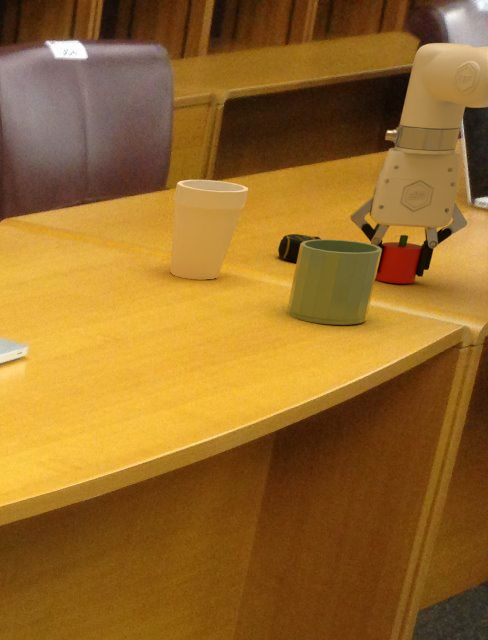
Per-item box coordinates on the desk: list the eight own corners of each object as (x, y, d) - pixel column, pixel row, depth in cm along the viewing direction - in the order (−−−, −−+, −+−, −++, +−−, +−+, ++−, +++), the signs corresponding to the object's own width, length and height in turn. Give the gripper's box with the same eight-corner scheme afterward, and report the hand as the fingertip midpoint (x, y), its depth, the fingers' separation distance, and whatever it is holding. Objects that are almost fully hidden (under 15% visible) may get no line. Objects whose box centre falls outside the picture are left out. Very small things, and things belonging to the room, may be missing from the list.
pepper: (421, 282, 218) (432, 236, 215) (399, 286, 216) (410, 240, 213) (388, 275, 222) (399, 230, 219) (366, 279, 220) (376, 234, 217)
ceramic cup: (381, 323, 196) (397, 251, 192) (315, 326, 194) (330, 254, 190) (336, 306, 204) (351, 238, 200) (272, 309, 203) (286, 240, 199)
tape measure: (330, 269, 227) (336, 244, 225) (282, 266, 228) (288, 241, 226) (317, 259, 233) (323, 234, 231) (270, 256, 234) (276, 231, 232)
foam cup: (145, 273, 222) (163, 181, 216) (196, 269, 225) (215, 178, 219) (189, 288, 214) (209, 193, 208) (241, 284, 217) (263, 190, 211)
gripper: (361, 140, 210) (332, 274, 218) (500, 146, 205) (466, 282, 213) (356, 134, 216) (328, 264, 224) (491, 139, 211) (458, 272, 219)
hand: (396, 272), depth 218 cm, fingers closed on pepper, 5 cm apart
